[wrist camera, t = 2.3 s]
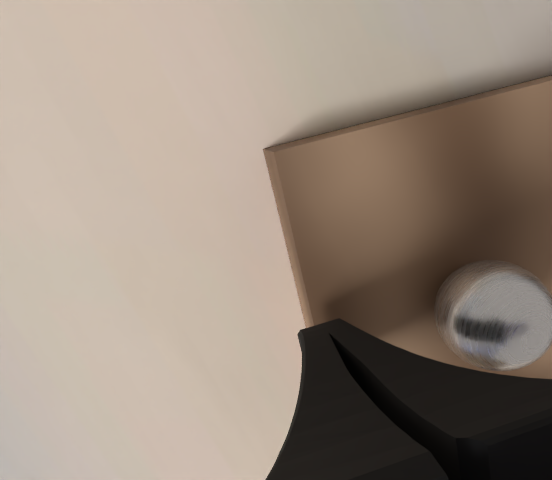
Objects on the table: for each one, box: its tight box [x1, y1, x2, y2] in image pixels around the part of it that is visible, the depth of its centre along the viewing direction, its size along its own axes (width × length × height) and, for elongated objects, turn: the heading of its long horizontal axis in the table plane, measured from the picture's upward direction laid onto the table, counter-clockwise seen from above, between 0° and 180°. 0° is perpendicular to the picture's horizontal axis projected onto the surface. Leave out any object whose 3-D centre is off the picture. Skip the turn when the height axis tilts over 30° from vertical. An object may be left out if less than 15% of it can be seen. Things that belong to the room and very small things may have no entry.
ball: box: [434, 260, 552, 371], centre depth 12 cm, size 3×3×3 cm
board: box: [263, 75, 552, 379], centre depth 15 cm, size 18×16×2 cm
